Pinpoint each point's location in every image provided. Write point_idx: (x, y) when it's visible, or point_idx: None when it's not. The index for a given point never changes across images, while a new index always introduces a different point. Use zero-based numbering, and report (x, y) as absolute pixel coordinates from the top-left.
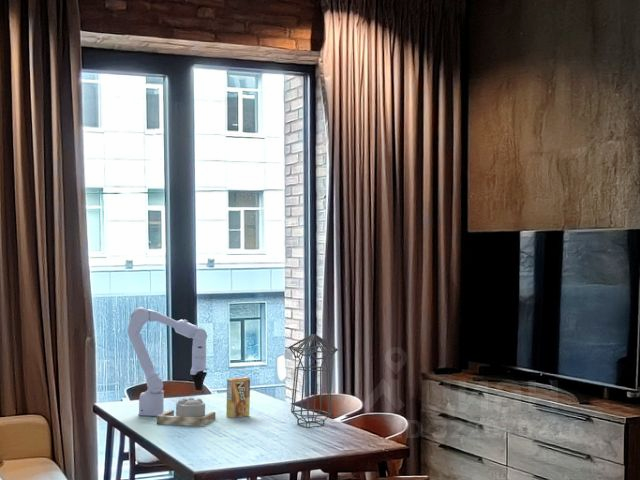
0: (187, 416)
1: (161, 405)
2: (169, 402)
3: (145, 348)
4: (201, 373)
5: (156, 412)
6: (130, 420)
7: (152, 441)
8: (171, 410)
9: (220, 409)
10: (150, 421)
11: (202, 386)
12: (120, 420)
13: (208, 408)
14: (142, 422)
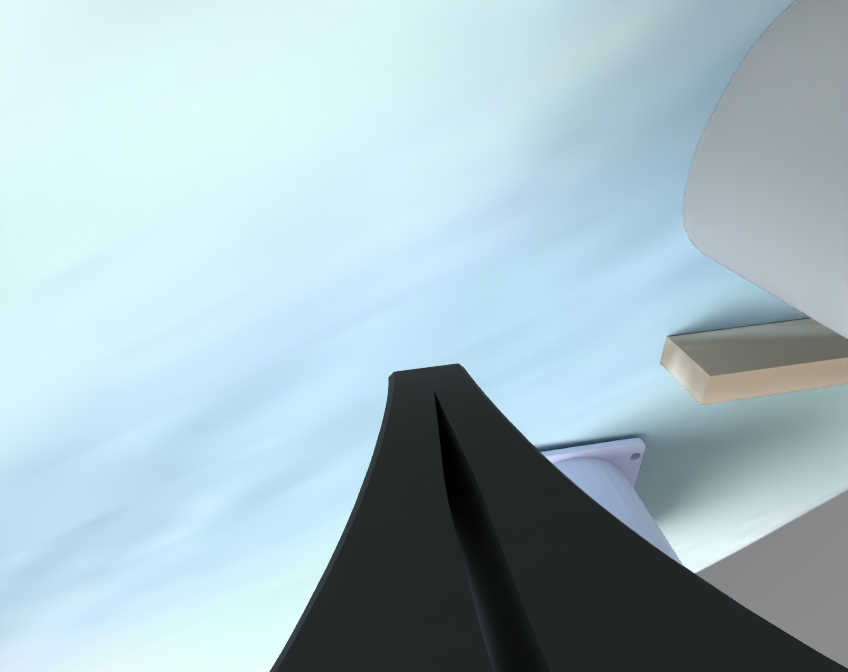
0: None
1: (622, 513)
2: (78, 626)
3: None
4: None
5: (628, 482)
6: (763, 504)
7: None
8: (735, 382)
9: (18, 62)
10: (813, 404)
11: (392, 407)
12: (759, 537)
13: (78, 257)
14: (840, 427)
